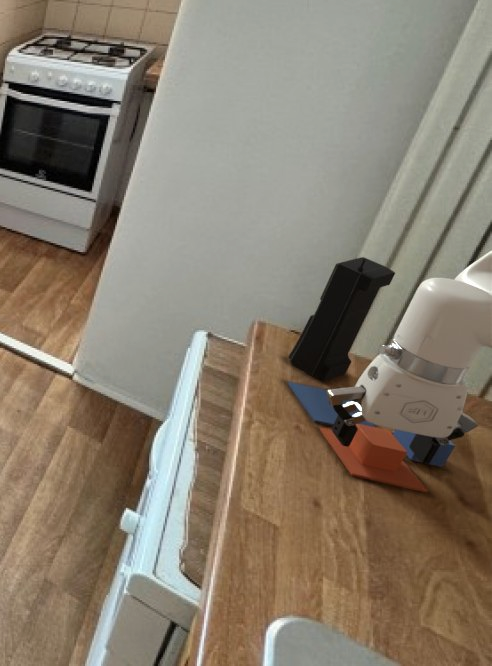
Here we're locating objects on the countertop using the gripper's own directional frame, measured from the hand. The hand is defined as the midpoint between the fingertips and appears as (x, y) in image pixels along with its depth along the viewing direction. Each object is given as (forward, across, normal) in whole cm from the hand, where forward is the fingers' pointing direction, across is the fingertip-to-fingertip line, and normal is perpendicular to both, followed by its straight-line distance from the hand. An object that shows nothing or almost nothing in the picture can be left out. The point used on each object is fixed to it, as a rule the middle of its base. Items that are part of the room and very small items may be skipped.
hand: (378, 447), depth 92 cm
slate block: (+2, +7, +4) cm, 8 cm away
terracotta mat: (+3, 0, 0) cm, 3 cm away
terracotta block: (+2, 0, 0) cm, 2 cm away
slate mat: (+3, 0, +10) cm, 11 cm away
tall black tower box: (+3, +3, +22) cm, 22 cm away
